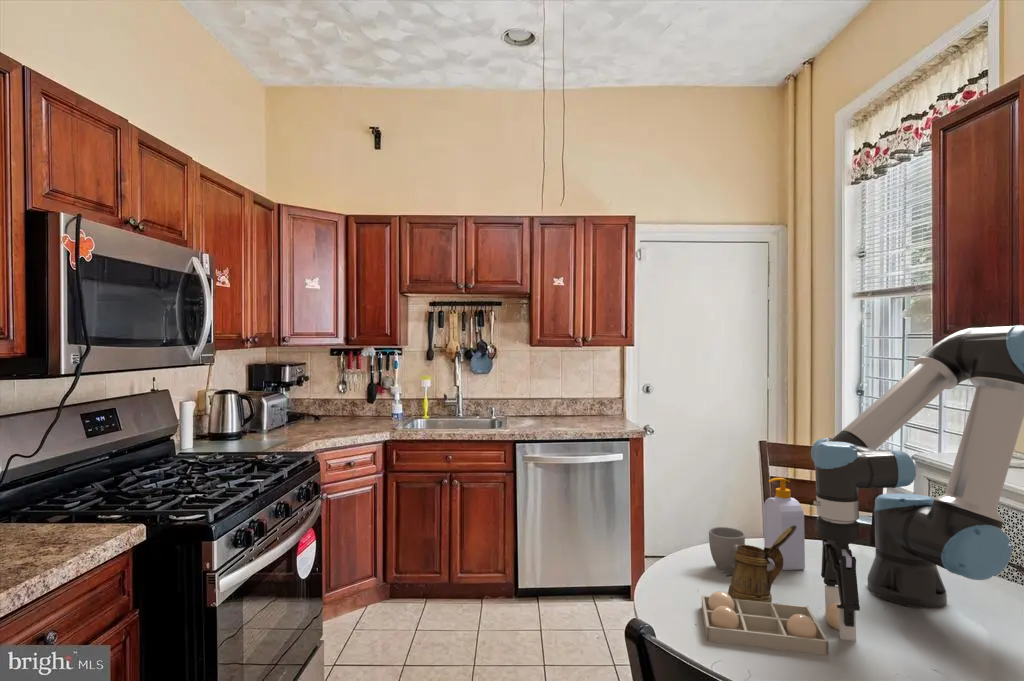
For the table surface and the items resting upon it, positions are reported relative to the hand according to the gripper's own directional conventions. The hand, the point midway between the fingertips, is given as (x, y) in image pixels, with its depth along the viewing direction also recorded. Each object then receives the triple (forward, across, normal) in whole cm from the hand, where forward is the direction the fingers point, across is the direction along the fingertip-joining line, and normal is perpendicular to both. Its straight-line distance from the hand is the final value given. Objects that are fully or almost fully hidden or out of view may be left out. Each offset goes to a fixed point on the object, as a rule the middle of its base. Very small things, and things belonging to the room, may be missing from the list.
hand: (840, 628), depth 113 cm
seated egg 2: (-1, +8, -23) cm, 25 cm away
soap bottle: (0, -35, -4) cm, 35 cm away
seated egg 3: (0, +8, -9) cm, 12 cm away
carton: (0, +5, -16) cm, 17 cm away
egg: (0, 0, 0) cm, 0 cm away
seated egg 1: (-1, +1, -23) cm, 23 cm away
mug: (0, -26, -18) cm, 32 cm away
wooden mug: (0, -9, -14) cm, 17 cm away
